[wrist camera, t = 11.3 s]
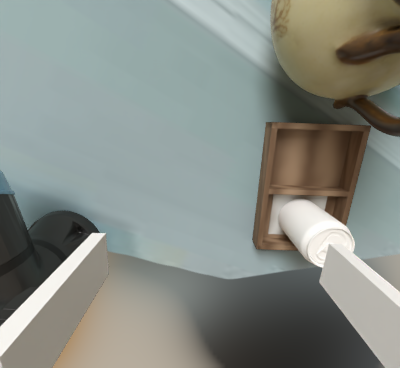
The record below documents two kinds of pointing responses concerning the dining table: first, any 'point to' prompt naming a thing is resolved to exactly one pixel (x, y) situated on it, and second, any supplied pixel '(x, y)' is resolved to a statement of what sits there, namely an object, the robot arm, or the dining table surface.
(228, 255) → the dining table surface
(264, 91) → the dining table surface
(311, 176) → the tray
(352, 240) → the beverage can
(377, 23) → the pitcher
